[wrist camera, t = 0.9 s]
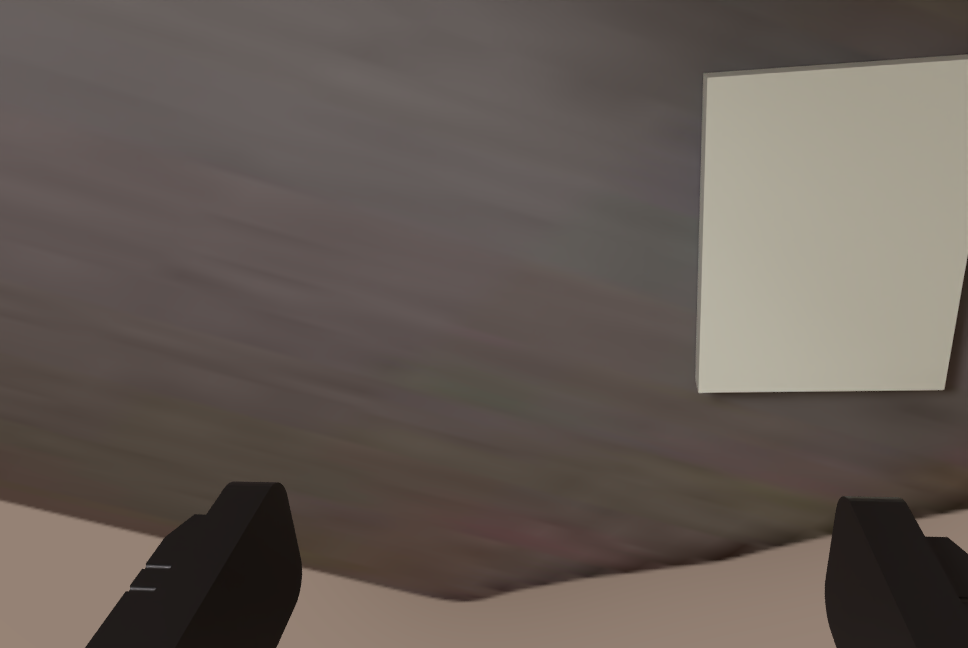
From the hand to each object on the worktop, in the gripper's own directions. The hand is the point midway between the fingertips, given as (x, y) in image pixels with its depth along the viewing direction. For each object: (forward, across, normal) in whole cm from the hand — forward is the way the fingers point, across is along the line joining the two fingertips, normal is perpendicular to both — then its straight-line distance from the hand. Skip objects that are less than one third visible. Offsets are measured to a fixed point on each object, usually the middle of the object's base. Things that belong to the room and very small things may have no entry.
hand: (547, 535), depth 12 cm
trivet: (+29, -12, +6) cm, 32 cm away
